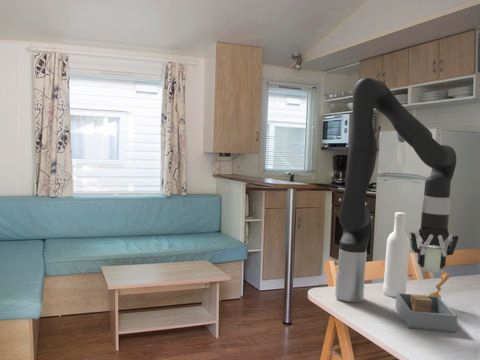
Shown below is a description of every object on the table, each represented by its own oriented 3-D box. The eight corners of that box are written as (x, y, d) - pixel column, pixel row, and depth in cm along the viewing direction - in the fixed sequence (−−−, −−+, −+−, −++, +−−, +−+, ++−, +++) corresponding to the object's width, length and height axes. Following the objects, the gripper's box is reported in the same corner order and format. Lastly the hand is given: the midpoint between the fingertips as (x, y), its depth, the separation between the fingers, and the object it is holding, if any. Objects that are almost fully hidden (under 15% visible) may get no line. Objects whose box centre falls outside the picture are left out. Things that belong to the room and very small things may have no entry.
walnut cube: (409, 308, 145) (411, 293, 145) (425, 310, 145) (426, 295, 144) (414, 314, 140) (415, 299, 140) (430, 315, 140) (431, 300, 139)
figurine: (430, 299, 158) (433, 266, 157) (449, 303, 155) (452, 269, 154) (425, 305, 151) (428, 270, 150) (444, 309, 148) (447, 274, 147)
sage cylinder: (424, 272, 132) (426, 248, 131) (419, 267, 137) (421, 245, 136) (442, 273, 131) (444, 250, 131) (436, 268, 136) (438, 246, 136)
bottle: (408, 298, 157) (415, 215, 155) (386, 297, 157) (393, 213, 155) (401, 291, 165) (407, 211, 163) (380, 290, 165) (386, 210, 163)
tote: (408, 328, 130) (409, 311, 130) (395, 307, 147) (396, 292, 147) (455, 332, 129) (456, 316, 128) (436, 311, 146) (438, 296, 145)
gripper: (456, 211, 135) (451, 266, 137) (407, 208, 137) (403, 262, 138) (465, 215, 128) (460, 272, 129) (413, 211, 130) (409, 268, 131)
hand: (430, 267), depth 134 cm, fingers closed on sage cylinder, 5 cm apart
